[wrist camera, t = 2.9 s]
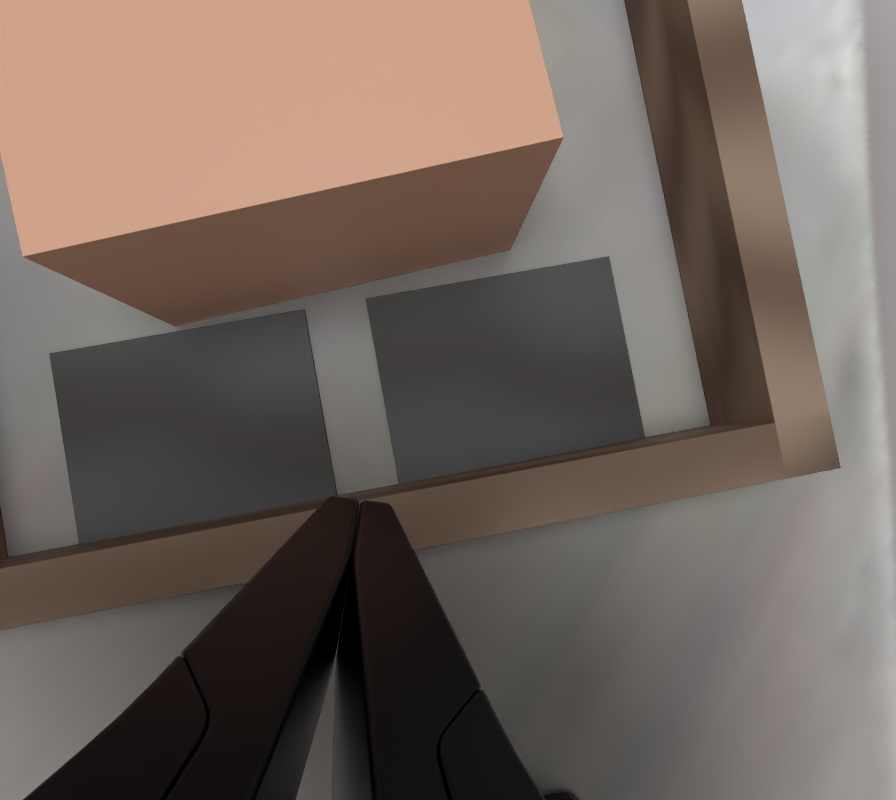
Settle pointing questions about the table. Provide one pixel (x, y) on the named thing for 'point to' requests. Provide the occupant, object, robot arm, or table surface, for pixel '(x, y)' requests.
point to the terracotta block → (267, 142)
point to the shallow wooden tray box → (459, 380)
